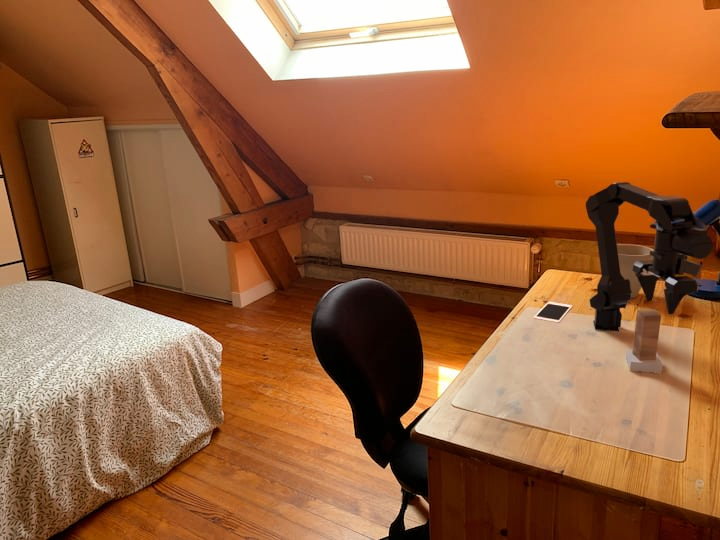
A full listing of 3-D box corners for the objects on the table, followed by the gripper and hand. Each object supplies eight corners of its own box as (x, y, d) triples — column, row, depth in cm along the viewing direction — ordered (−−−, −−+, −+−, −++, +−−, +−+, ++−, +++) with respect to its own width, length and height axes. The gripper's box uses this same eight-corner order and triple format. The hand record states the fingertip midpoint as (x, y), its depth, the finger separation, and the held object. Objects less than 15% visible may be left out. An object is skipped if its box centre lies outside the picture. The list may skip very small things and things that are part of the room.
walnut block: (632, 353, 141) (637, 309, 137) (648, 353, 141) (653, 309, 137) (639, 360, 137) (644, 315, 133) (655, 360, 137) (661, 315, 133)
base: (629, 370, 137) (630, 361, 137) (625, 358, 144) (626, 349, 143) (661, 373, 135) (662, 364, 135) (655, 360, 142) (656, 351, 141)
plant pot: (654, 292, 188) (659, 247, 184) (641, 305, 178) (646, 258, 173) (608, 284, 198) (612, 241, 193) (594, 296, 187) (597, 251, 183)
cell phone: (572, 307, 180) (572, 305, 180) (558, 324, 168) (558, 322, 168) (548, 303, 185) (548, 301, 184) (533, 319, 172) (533, 317, 172)
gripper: (724, 256, 129) (714, 318, 133) (675, 237, 147) (668, 293, 151) (678, 259, 128) (670, 322, 133) (634, 240, 146) (628, 296, 151)
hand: (659, 307), depth 142 cm, fingers open, 9 cm apart
